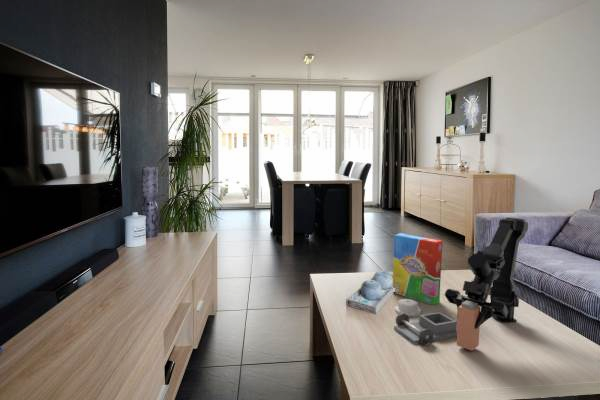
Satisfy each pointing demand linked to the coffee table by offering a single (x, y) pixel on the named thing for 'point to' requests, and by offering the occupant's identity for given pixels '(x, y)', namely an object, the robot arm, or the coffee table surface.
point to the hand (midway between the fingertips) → (466, 325)
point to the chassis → (426, 327)
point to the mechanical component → (408, 307)
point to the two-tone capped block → (468, 325)
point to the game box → (417, 267)
